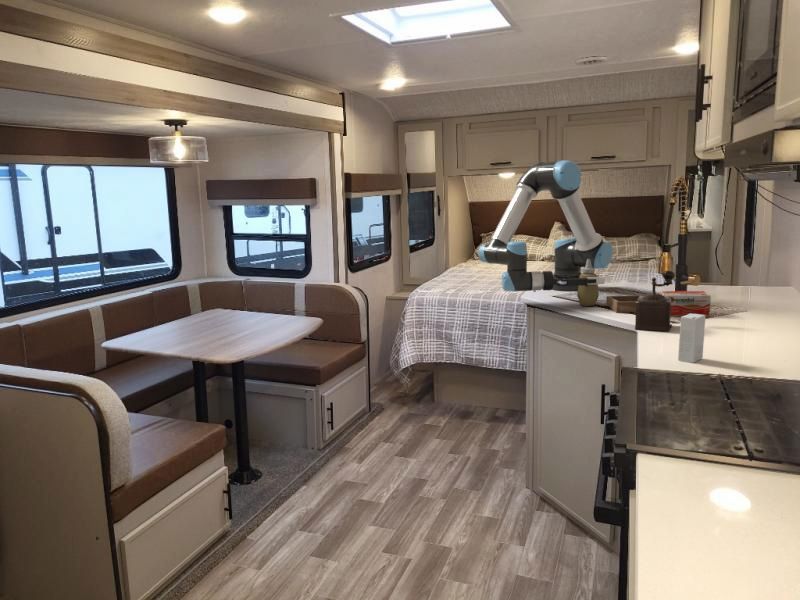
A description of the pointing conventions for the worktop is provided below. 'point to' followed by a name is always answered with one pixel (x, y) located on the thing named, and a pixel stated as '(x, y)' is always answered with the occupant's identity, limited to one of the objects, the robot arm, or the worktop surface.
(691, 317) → the skincare box
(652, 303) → the manual coffee grinder
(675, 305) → the medicine box
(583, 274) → the squeeze bottle
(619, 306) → the walnut well
